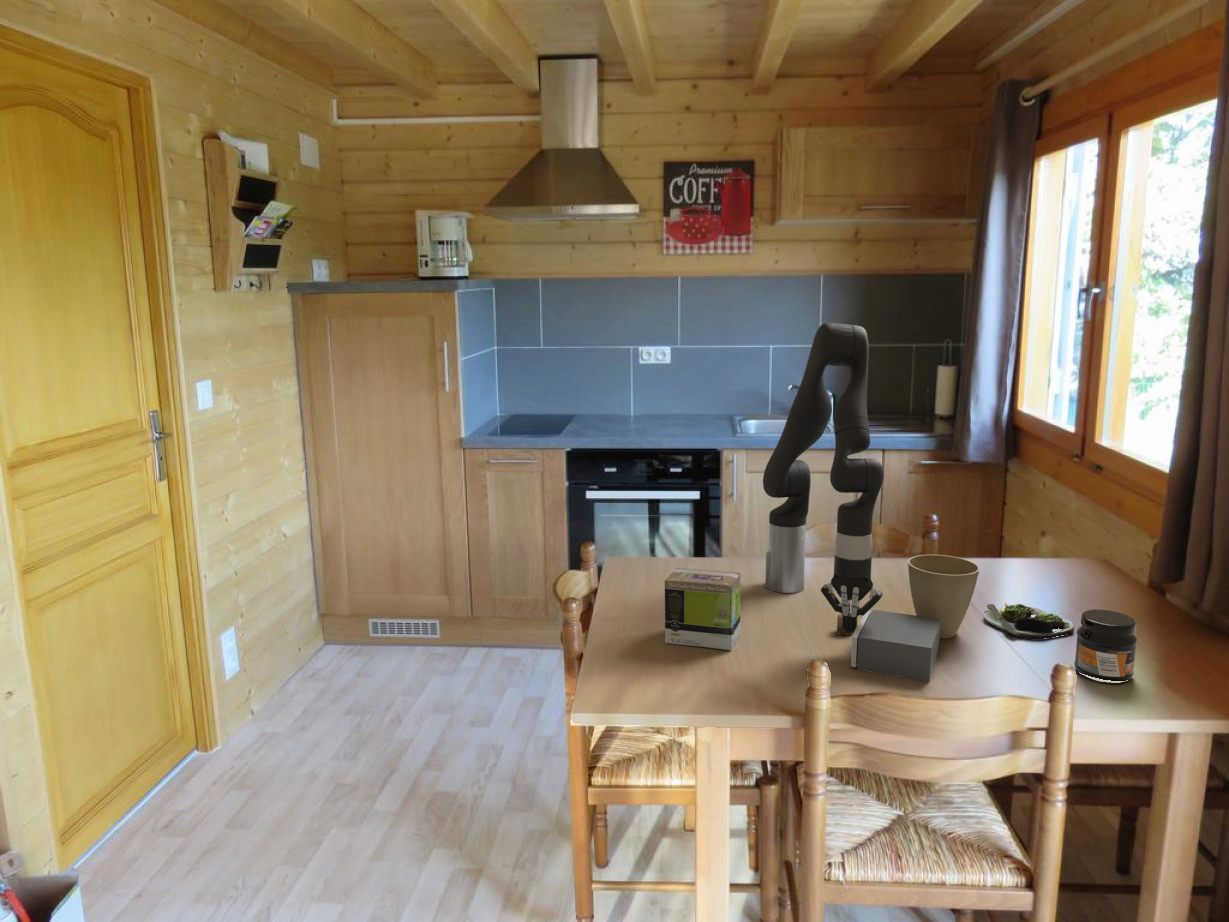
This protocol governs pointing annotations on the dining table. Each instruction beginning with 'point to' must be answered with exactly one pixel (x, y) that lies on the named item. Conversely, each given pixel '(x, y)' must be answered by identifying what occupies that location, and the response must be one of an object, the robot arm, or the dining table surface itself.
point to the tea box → (702, 608)
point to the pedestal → (839, 626)
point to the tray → (855, 639)
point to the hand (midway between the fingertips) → (849, 631)
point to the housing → (899, 645)
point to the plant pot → (942, 589)
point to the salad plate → (1027, 621)
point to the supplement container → (1106, 645)
